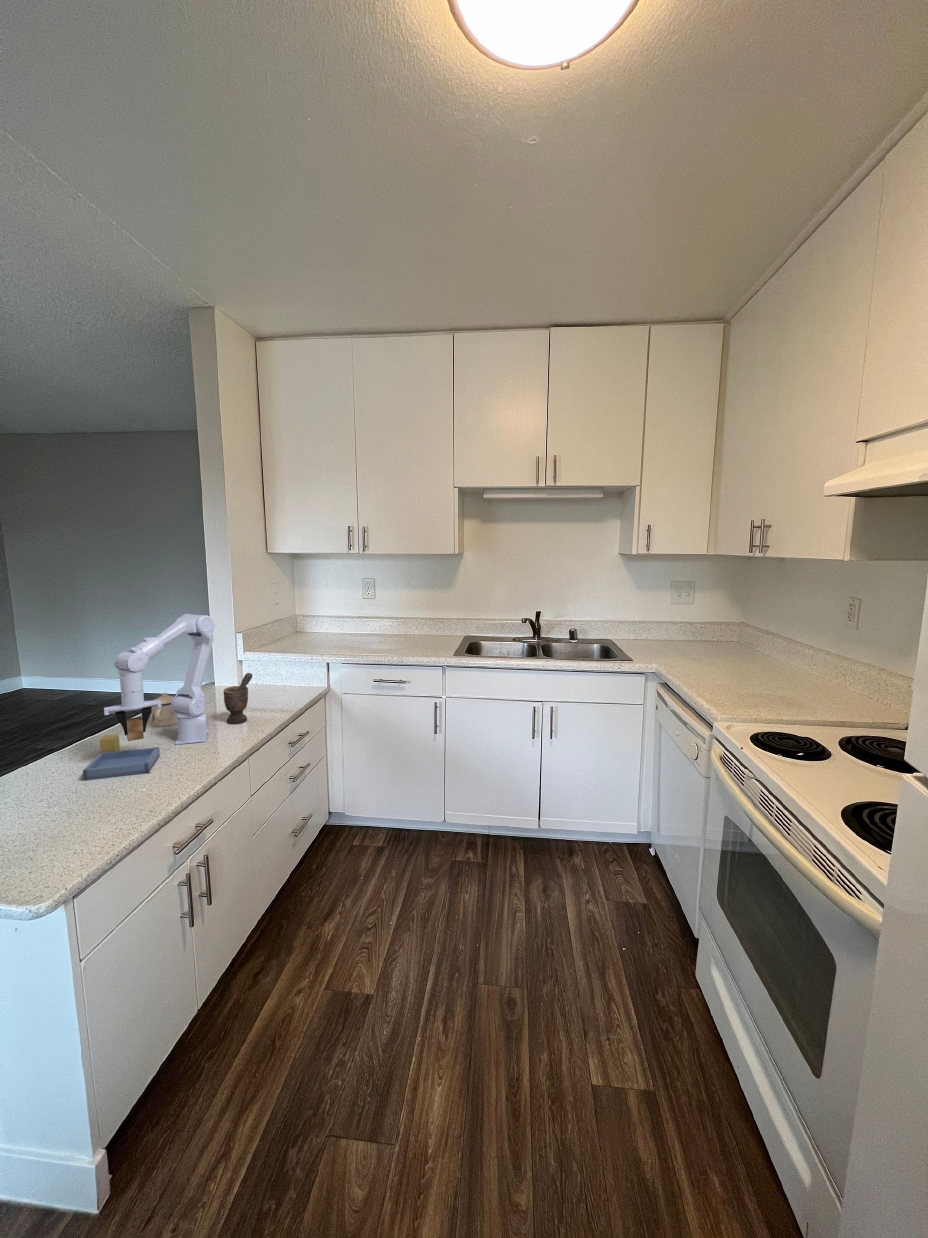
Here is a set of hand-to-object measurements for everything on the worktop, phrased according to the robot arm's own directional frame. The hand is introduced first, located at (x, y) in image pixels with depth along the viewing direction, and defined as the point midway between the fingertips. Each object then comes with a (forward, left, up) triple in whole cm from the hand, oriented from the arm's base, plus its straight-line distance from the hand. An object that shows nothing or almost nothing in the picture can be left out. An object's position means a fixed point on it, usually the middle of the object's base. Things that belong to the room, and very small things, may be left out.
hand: (135, 732), depth 151 cm
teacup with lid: (0, -34, -9) cm, 35 cm away
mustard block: (+9, -7, -9) cm, 15 cm away
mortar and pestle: (-27, -29, -9) cm, 41 cm away
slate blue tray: (+2, +5, -9) cm, 10 cm away
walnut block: (0, 0, -2) cm, 2 cm away
